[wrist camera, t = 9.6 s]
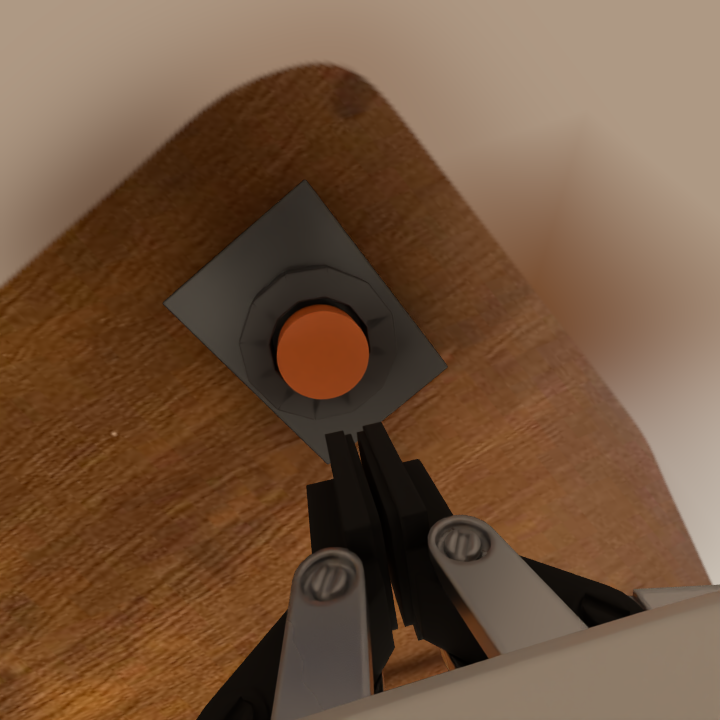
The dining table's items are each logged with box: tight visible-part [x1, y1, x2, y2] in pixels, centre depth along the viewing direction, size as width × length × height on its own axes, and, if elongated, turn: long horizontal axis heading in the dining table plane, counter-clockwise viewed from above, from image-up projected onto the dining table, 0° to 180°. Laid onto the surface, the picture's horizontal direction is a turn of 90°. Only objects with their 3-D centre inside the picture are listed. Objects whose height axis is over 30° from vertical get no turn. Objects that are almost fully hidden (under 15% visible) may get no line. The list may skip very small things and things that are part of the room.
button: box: [277, 304, 369, 399], centre depth 16 cm, size 4×4×2 cm
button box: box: [163, 180, 448, 464], centre depth 18 cm, size 11×8×4 cm
